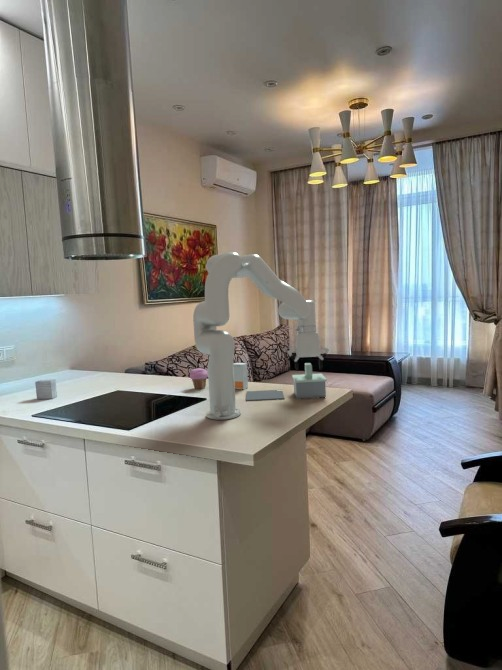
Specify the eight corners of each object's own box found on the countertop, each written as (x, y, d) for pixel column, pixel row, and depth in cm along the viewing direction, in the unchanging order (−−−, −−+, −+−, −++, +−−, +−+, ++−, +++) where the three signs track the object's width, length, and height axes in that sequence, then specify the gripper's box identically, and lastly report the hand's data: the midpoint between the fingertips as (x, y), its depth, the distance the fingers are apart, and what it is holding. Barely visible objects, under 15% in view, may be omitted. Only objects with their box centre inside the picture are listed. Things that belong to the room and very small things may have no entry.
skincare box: (232, 389, 207) (231, 364, 206) (237, 387, 211) (235, 362, 210) (244, 389, 205) (242, 364, 203) (248, 387, 208) (247, 362, 207)
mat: (284, 399, 183) (284, 398, 183) (246, 401, 183) (245, 399, 183) (282, 390, 199) (282, 389, 199) (246, 392, 199) (246, 391, 199)
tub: (325, 397, 181) (325, 381, 181) (296, 399, 182) (296, 382, 181) (321, 391, 193) (320, 375, 193) (294, 392, 194) (293, 376, 193)
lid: (326, 383, 180) (326, 366, 180) (295, 385, 181) (294, 367, 180) (321, 377, 193) (321, 361, 193) (292, 379, 194) (291, 362, 193)
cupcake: (206, 390, 208) (204, 369, 207) (188, 390, 209) (186, 369, 208) (210, 386, 217) (209, 366, 216) (193, 386, 218) (192, 366, 217)
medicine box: (57, 396, 211) (55, 379, 210) (52, 399, 206) (50, 381, 206) (42, 397, 212) (40, 379, 211) (36, 399, 207) (34, 381, 206)
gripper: (287, 331, 181) (289, 372, 183) (329, 329, 181) (331, 370, 183) (285, 330, 189) (288, 369, 191) (326, 327, 189) (327, 366, 190)
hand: (309, 369), depth 187 cm, fingers open, 9 cm apart
